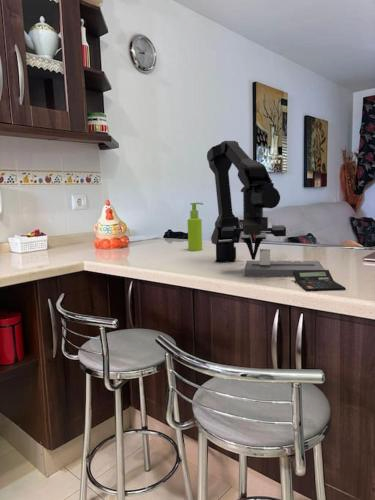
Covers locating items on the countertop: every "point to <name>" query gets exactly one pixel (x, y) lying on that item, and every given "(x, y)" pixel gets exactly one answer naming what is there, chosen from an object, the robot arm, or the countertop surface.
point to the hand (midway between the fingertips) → (253, 259)
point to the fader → (264, 256)
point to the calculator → (316, 280)
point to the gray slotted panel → (280, 268)
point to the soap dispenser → (194, 230)
